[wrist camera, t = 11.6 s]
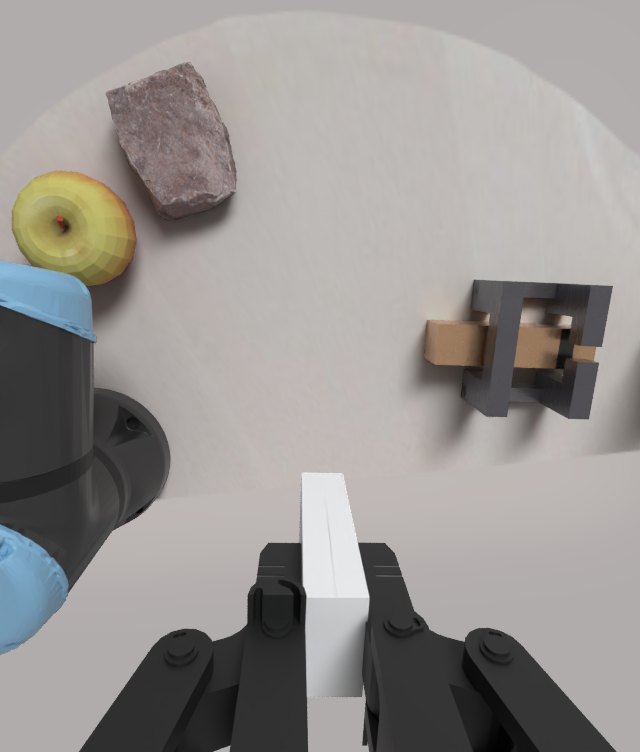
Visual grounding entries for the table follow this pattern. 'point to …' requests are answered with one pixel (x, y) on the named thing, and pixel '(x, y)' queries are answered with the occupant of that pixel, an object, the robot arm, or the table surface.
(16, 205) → the apple
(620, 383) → the table surface
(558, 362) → the block
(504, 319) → the grey open frame bracket
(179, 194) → the stone
